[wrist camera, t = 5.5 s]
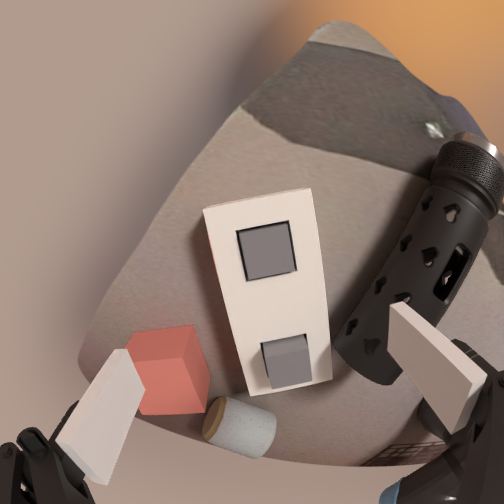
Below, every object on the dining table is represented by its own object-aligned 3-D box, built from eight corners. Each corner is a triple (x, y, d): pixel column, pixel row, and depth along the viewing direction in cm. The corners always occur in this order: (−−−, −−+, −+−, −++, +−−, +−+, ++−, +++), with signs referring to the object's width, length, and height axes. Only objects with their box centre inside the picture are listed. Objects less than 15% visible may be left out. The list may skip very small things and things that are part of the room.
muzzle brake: (319, 323, 33) (346, 373, 23) (428, 132, 28) (483, 122, 17) (372, 349, 34) (406, 395, 24) (470, 177, 29) (523, 181, 19)
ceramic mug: (222, 383, 34) (218, 424, 27) (275, 401, 35) (280, 442, 28) (194, 424, 37) (187, 461, 29) (242, 439, 38) (241, 476, 30)
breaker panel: (324, 361, 34) (332, 379, 30) (248, 376, 34) (248, 396, 30) (301, 188, 29) (310, 188, 25) (206, 206, 29) (200, 209, 25)
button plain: (305, 360, 31) (312, 380, 27) (268, 367, 31) (271, 389, 27) (301, 329, 30) (308, 348, 26) (262, 337, 30) (264, 357, 26)
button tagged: (288, 259, 30) (295, 270, 26) (248, 267, 30) (248, 279, 26) (281, 219, 29) (287, 224, 25) (239, 227, 29) (239, 233, 25)
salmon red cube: (210, 376, 34) (205, 412, 27) (155, 381, 34) (142, 414, 27) (193, 324, 32) (182, 357, 25) (134, 332, 32) (114, 362, 25)
